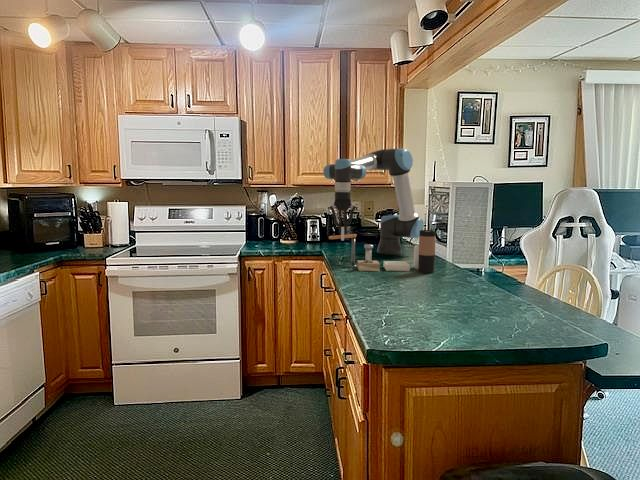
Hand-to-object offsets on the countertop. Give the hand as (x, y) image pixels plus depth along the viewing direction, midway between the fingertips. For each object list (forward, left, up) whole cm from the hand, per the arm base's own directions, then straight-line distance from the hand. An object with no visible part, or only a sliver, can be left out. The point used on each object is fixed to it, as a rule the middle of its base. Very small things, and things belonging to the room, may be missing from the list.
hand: (342, 240), depth 231 cm
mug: (-6, +42, -15) cm, 45 cm away
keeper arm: (-3, 0, +1) cm, 4 cm away
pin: (-1, +13, -14) cm, 19 cm away
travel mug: (+6, +40, -15) cm, 43 cm away
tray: (-2, +27, -14) cm, 31 cm away
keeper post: (-8, +6, -14) cm, 18 cm away
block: (-1, +13, -14) cm, 19 cm away
